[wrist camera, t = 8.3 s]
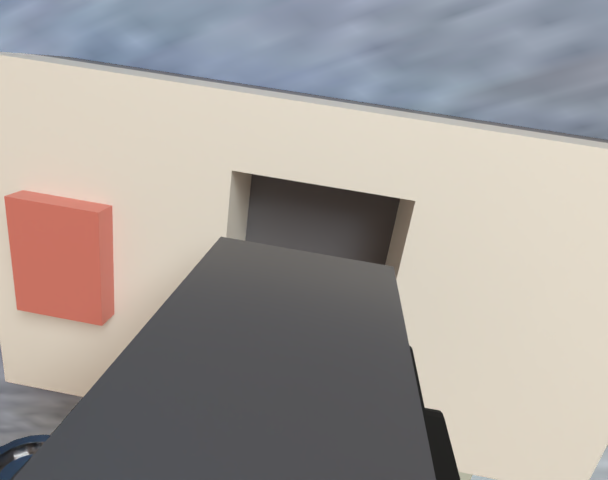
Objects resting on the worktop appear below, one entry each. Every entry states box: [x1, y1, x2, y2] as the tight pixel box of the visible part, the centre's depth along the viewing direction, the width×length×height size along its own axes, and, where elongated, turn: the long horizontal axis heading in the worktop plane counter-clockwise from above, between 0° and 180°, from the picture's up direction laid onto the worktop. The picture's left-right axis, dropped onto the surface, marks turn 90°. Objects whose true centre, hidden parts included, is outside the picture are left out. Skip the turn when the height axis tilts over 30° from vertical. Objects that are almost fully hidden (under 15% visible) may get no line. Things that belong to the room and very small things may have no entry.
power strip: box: [0, 52, 608, 480], centre depth 16 cm, size 22×12×6 cm, turn 82°
